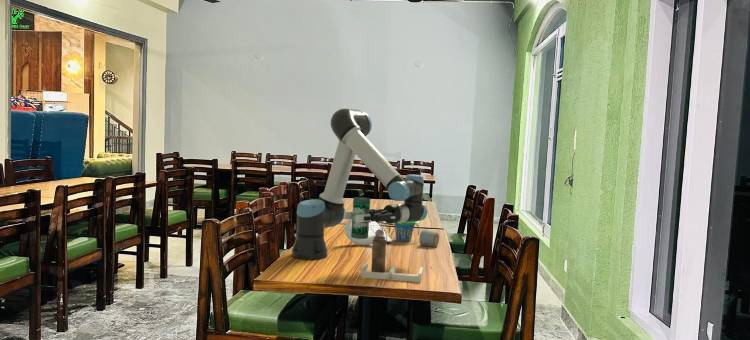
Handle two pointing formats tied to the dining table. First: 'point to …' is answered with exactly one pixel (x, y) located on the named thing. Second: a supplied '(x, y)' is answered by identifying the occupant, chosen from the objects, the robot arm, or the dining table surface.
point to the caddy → (391, 274)
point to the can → (359, 208)
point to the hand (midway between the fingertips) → (350, 217)
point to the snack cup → (404, 230)
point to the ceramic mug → (429, 238)
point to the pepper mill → (378, 252)
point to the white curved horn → (357, 241)
